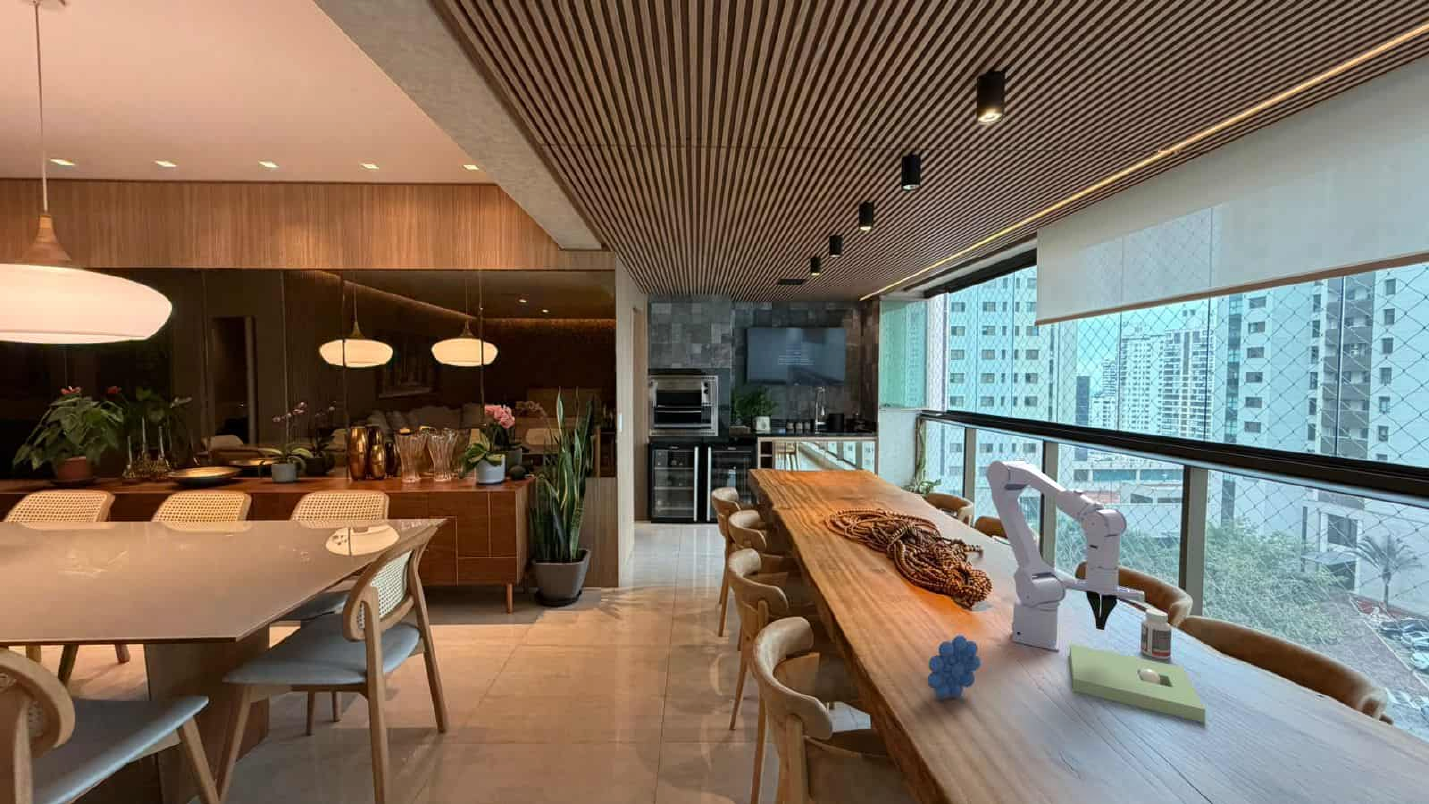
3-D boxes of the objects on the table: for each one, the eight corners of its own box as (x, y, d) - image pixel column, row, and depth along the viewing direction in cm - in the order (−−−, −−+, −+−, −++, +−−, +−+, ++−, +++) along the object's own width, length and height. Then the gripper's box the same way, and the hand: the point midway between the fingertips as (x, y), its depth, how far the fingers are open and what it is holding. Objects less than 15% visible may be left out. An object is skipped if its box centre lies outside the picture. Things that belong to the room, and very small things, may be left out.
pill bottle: (1174, 656, 125) (1175, 613, 125) (1165, 662, 122) (1166, 619, 122) (1145, 646, 130) (1147, 606, 130) (1136, 652, 127) (1137, 610, 127)
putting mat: (1073, 690, 110) (1073, 678, 110) (1069, 654, 125) (1069, 643, 125) (1204, 723, 100) (1205, 709, 100) (1182, 679, 115) (1183, 667, 115)
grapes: (963, 682, 112) (964, 624, 112) (987, 700, 106) (989, 639, 106) (913, 689, 109) (915, 630, 109) (936, 708, 103) (937, 645, 103)
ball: (1165, 682, 108) (1149, 691, 109) (1165, 683, 111) (1149, 691, 112) (1149, 665, 111) (1133, 674, 112) (1149, 666, 113) (1134, 674, 114)
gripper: (1062, 564, 118) (1060, 626, 118) (1147, 577, 110) (1145, 643, 111) (1061, 555, 124) (1059, 615, 124) (1142, 567, 116) (1140, 630, 117)
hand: (1099, 627), depth 118 cm, fingers closed
